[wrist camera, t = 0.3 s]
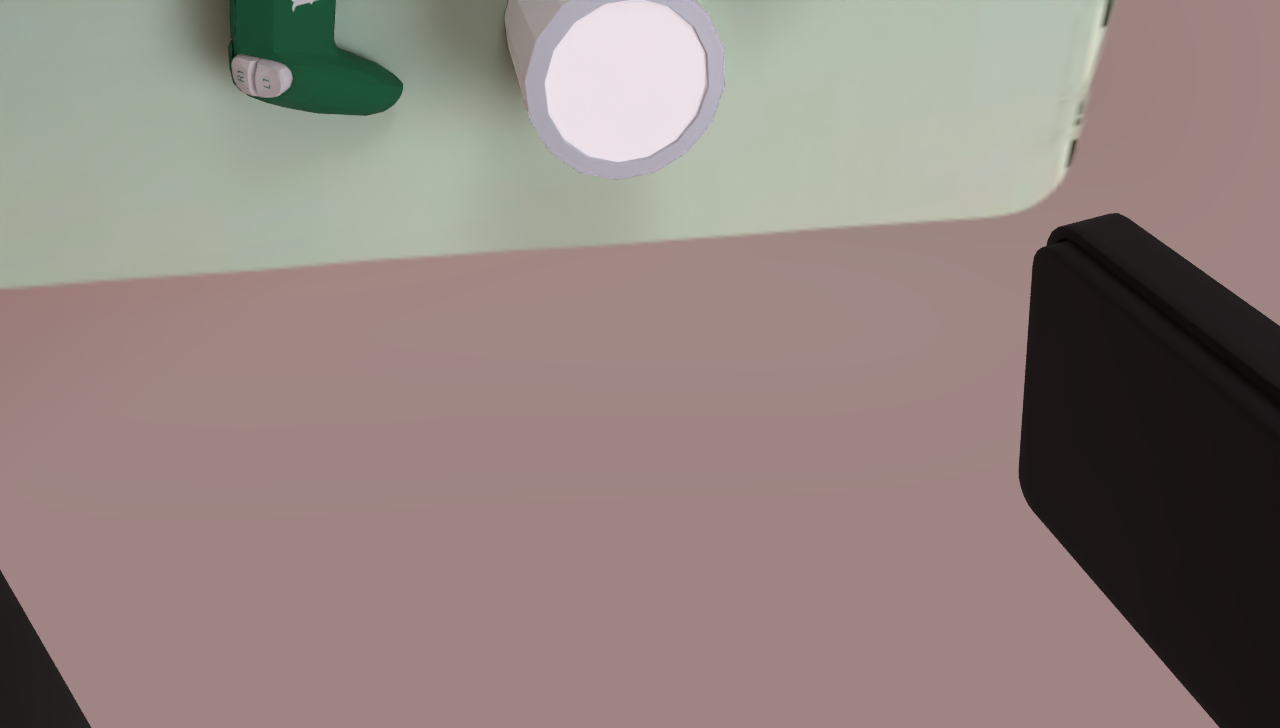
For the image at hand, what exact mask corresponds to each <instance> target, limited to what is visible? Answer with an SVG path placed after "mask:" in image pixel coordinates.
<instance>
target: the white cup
mask: <svg viewBox="0 0 1280 728" xmlns="http://www.w3.org/2000/svg"><path fill="white" fill-rule="evenodd" d="M504 20H505V27H506V34H507V41H508V47H509V51H510V54H511V58H512V61H513V64H514V68H515V71H516V75H517V78H518V81H519V85H520V88H521V92H522V95H523V98H524V102H525V105H526V109H527V112H528V115H529V119H530V121H531V123H532V124H533V126H534V128H535V129H536V131H537V133H538V134H539V136H540V137H541V139H542V141H543V142H544V144H545V146H546V147H547V149H548V151H549V152H550V153H551V154H553V155H554V156H556V157H557V158H559V159H560V160H562V161H563V162H565V163H566V164H568V165H569V166H571V167H572V168H573V169H575V170H576V171H578V172H579V173H583V174H588V175H594V176H599V177H604V178H609V179H614V180H618V179H624V178H629V177H634V176H639V175H644V174H650V173H654V172H656V171H657V170H659V169H661V168H662V167H664V166H666V165H667V164H669V163H671V162H672V161H674V160H676V159H677V158H679V157H681V156H682V155H684V154H686V153H687V152H688V151H689V150H690V148H691V147H692V146H693V145H694V144H695V142H696V141H697V140H698V139H699V137H700V136H701V135H702V134H703V133H704V131H705V130H706V129H707V128H708V126H709V125H710V124H711V123H712V121H713V118H714V115H715V112H716V110H717V107H718V104H719V101H720V98H721V95H722V93H723V90H724V87H725V67H724V46H723V44H722V42H721V40H720V37H719V35H718V33H717V31H716V29H715V27H714V25H713V23H712V20H711V18H710V16H709V14H708V12H707V11H706V10H704V9H703V8H702V7H701V6H700V5H698V4H697V3H696V2H695V1H694V0H509V1H508V4H507V8H506V12H505V16H504Z"/></svg>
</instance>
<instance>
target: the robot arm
mask: <svg viewBox="0 0 1280 728" xmlns="http://www.w3.org/2000/svg"><path fill="white" fill-rule="evenodd" d="M1032 268H1033V269H1032V283H1031V297H1030V311H1029V327H1028V340H1027V355H1026V370H1025V385H1024V399H1023V414H1022V429H1021V443H1020V458H1019V480H1020V485H1021V489H1022V492H1023V494H1024V497H1025V499H1026V501H1027V503H1028V505H1029V506H1030V508H1031V509H1032V510H1033V512H1034V513H1035V514H1036V515H1037V516H1038V518H1039V519H1040V520H1041V521H1042V522H1043V523H1044V524H1045V526H1046V527H1047V528H1048V529H1049V530H1050V531H1051V533H1052V534H1053V535H1054V536H1055V537H1056V538H1057V539H1058V540H1059V542H1060V543H1061V544H1062V545H1063V547H1065V549H1066V550H1067V551H1068V552H1069V553H1070V554H1071V556H1072V557H1073V558H1074V559H1075V560H1076V562H1077V563H1078V564H1079V565H1080V566H1081V567H1082V569H1083V570H1084V571H1085V572H1086V573H1087V574H1088V575H1089V577H1090V578H1091V579H1092V580H1093V581H1094V582H1095V584H1096V585H1097V586H1098V587H1099V588H1100V589H1101V591H1102V592H1103V593H1104V594H1105V595H1106V596H1107V598H1108V599H1109V600H1110V601H1111V602H1112V603H1113V604H1114V606H1115V607H1116V608H1117V609H1118V610H1119V611H1120V612H1121V614H1122V615H1123V616H1124V617H1125V618H1126V620H1127V621H1128V622H1129V623H1130V624H1131V625H1132V627H1133V628H1134V629H1135V630H1136V631H1137V632H1138V633H1139V635H1140V636H1141V637H1142V638H1143V639H1144V640H1145V642H1146V643H1147V644H1148V645H1149V646H1150V647H1151V648H1152V650H1153V651H1154V652H1155V653H1156V654H1157V656H1158V657H1159V658H1160V659H1161V660H1162V661H1163V662H1164V664H1165V665H1166V666H1167V667H1168V668H1169V669H1170V671H1171V672H1172V673H1173V674H1174V675H1175V676H1176V678H1177V679H1178V680H1179V681H1180V682H1181V683H1182V684H1183V686H1184V687H1185V688H1186V689H1187V690H1188V691H1189V693H1190V694H1191V695H1192V696H1193V697H1194V698H1195V699H1196V701H1197V702H1198V703H1199V704H1200V705H1201V706H1202V708H1203V709H1204V710H1205V711H1206V712H1207V713H1208V715H1209V716H1210V717H1211V718H1212V719H1213V720H1214V722H1215V723H1216V724H1217V725H1218V726H1219V727H1220V728H1280V326H1279V325H1278V324H1276V323H1275V322H1273V321H1272V320H1270V319H1269V318H1268V317H1266V316H1265V315H1263V314H1262V313H1261V312H1259V311H1258V310H1256V309H1255V308H1254V307H1252V306H1250V305H1249V304H1248V303H1247V302H1245V301H1244V300H1242V299H1241V298H1239V297H1238V296H1236V295H1235V294H1234V293H1233V292H1231V291H1230V290H1228V289H1227V288H1225V287H1224V286H1223V285H1221V284H1220V283H1218V282H1217V281H1216V280H1214V279H1213V278H1211V277H1210V276H1209V275H1207V274H1206V273H1204V272H1203V271H1202V270H1200V269H1199V268H1197V267H1196V266H1195V265H1193V264H1192V263H1190V262H1189V261H1188V260H1186V259H1184V258H1183V257H1182V256H1181V255H1179V254H1178V253H1176V252H1175V251H1173V250H1172V249H1171V248H1169V247H1168V246H1166V245H1165V244H1164V243H1162V242H1161V241H1159V240H1158V239H1157V238H1155V237H1154V236H1152V235H1151V234H1150V233H1148V232H1147V231H1145V230H1144V229H1143V228H1141V227H1139V226H1138V225H1137V224H1136V223H1134V222H1133V221H1131V220H1130V219H1129V218H1127V217H1125V216H1123V215H1120V214H1118V213H1113V214H1107V215H1103V216H1099V217H1095V218H1092V219H1088V220H1084V221H1080V222H1076V223H1072V224H1068V225H1065V226H1061V227H1058V228H1057V229H1055V230H1054V231H1052V233H1051V235H1050V237H1049V239H1048V241H1047V246H1046V247H1042V248H1041V249H1039V250H1038V251H1037V252H1036V254H1035V256H1034V261H1033V267H1032ZM0 728H91V727H90V725H89V723H88V721H87V720H86V718H85V716H84V714H83V712H82V711H81V709H80V707H79V706H78V704H77V702H76V700H75V699H74V697H73V695H72V693H71V692H70V690H69V688H68V687H67V685H66V683H65V681H64V680H63V678H62V676H61V674H60V673H59V671H58V669H57V667H56V666H55V664H54V662H53V660H52V659H51V657H50V655H49V654H48V652H47V650H46V648H45V647H44V645H43V643H42V642H41V640H40V638H39V636H38V635H37V633H36V631H35V629H34V628H33V626H32V624H31V622H30V621H29V619H28V617H27V615H26V614H25V612H24V610H23V608H22V607H21V605H20V604H19V602H18V600H17V598H16V597H15V595H14V593H13V591H12V589H11V588H10V586H9V584H8V583H7V581H6V579H5V577H4V576H3V574H2V572H1V570H0Z"/></svg>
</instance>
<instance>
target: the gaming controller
mask: <svg viewBox="0 0 1280 728" xmlns="http://www.w3.org/2000/svg"><path fill="white" fill-rule="evenodd" d="M335 5H336V0H230V32H231V38H233V39H232V40H231V41H230V44H229V46H228V51H229V66H230V71H231V76H232V80H233V83H234V84H235V85H236V86H237V88H238V89H239V90H240V91H242V92H243V93H245V94H247V95H248V96H250V97H253V98H255V99H258V100H261V101H264V102H267V103H270V104H274V105H278V106H282V107H286V108H291V109H296V110H302V111H308V112H313V113H322V114H343V115H364V116H366V115H371V114H375V113H379V112H384V111H385V110H387V109H388V108H390V107H391V106H393V105H394V104H395V103H396V102H397V100H398V99H399V98H400V96H401V94H402V90H403V84H402V82H401V81H400V80H399V79H398V78H397V77H396V76H395V75H394V74H392V73H391V72H389V71H388V70H386V69H385V68H383V67H382V66H380V65H378V64H377V63H375V62H372V61H370V60H367V59H365V58H362V57H360V56H357V55H355V54H352V53H350V52H347V51H344V50H342V49H339V48H338V47H337V46H336V44H335V42H334V24H335ZM235 35H236V36H235Z"/></svg>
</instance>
